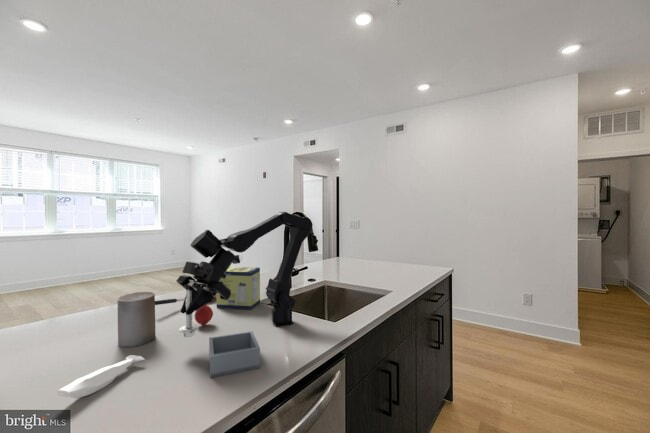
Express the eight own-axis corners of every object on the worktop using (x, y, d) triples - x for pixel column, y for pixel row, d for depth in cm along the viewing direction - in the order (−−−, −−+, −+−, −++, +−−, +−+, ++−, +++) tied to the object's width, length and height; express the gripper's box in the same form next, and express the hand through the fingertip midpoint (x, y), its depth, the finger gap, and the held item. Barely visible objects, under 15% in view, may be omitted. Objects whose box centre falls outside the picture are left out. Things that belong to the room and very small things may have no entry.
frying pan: (175, 320, 106) (175, 302, 106) (145, 317, 109) (145, 300, 109) (224, 296, 137) (224, 283, 137) (200, 294, 140) (200, 281, 140)
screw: (197, 338, 79) (177, 340, 77) (199, 331, 83) (181, 333, 82) (196, 290, 79) (177, 292, 77) (199, 286, 83) (181, 287, 82)
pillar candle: (150, 331, 95) (150, 286, 95) (159, 340, 88) (158, 291, 88) (114, 340, 88) (114, 291, 88) (121, 351, 81) (120, 298, 81)
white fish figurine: (50, 407, 57) (50, 387, 57) (127, 364, 75) (127, 349, 75) (73, 411, 56) (73, 390, 56) (145, 366, 74) (146, 350, 74)
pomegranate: (206, 329, 97) (206, 305, 97) (190, 327, 98) (191, 304, 98) (216, 323, 103) (216, 300, 103) (201, 321, 104) (201, 299, 104)
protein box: (227, 300, 130) (227, 266, 130) (260, 302, 127) (260, 267, 127) (215, 308, 119) (215, 270, 119) (251, 310, 117) (251, 271, 117)
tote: (252, 348, 83) (252, 330, 83) (259, 367, 72) (259, 348, 72) (209, 355, 79) (209, 337, 79) (210, 377, 68) (210, 356, 68)
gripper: (182, 248, 88) (144, 293, 79) (222, 252, 79) (184, 304, 69) (204, 270, 95) (172, 313, 86) (244, 276, 85) (213, 325, 76)
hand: (184, 313), depth 79 cm, fingers closed on screw, 2 cm apart
